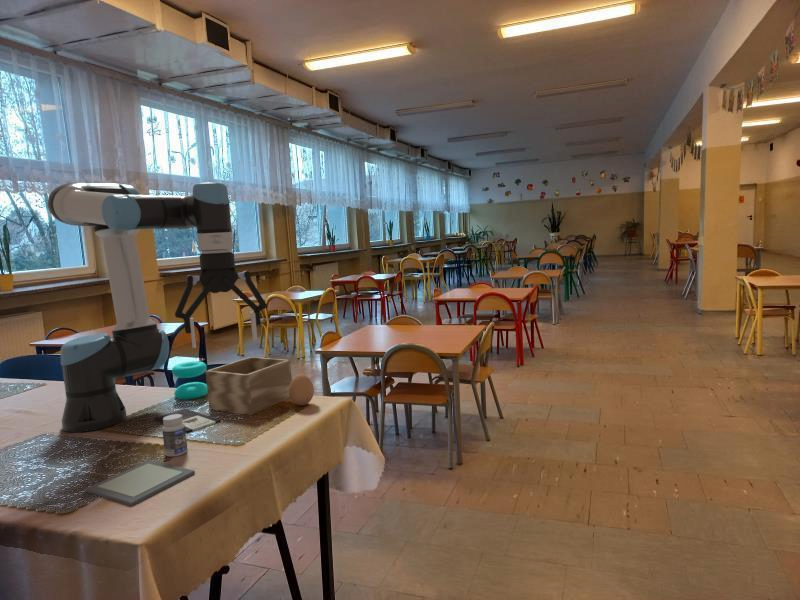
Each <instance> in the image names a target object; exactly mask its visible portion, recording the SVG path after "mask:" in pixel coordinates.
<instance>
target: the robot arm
mask: <svg viewBox="0 0 800 600" xmlns="http://www.w3.org/2000/svg"><path fill="white" fill-rule="evenodd" d="M230 203H231V201H230V198H229V192H228V187H227V185H225V184H224V183H222V182H200V183H199V182H198V183H194V185H193V186H192V194H191V195H157V194H155V195H148V194H147V195H145V194H141V193H140V191H139V190H138V189H137V188H135V186H132V185H130V184H123V183H122V184H121V183H111V182H110V183H102V182H101V183H100V182H99V183H96V182H69V183H64V184H61V185H59V186H57V187H55V188H54V189H53V190H52V191H51V192H50V193H49V195H48V198H47V208H48V211H49V212H50V213H49V214H51V216H52V217H53V218H55V220H57V221H58V222H61V223H63V224H65V225H70V226H75V227H76V226H77V227H93V230H94V234H95V235H96V236H97V237H98V238H100V239H101V240H102V246H103V252H104V258H105V262H106V269H107V274H108V275H107V276H108V280H109V286H110V291H111V297H112V304H113V309H114V315H115V320H116V323H115V325H114V327H113V328H112V329H111V333H112V336H110V334H108V333H107V332H100V333H99V332H98V333H93V334H88V335H83V336H80V337H77V338H74V339H71V340H68V341H66V342H65V343H64V344H63V345H62V346H61V348H60V351H59V352H60V364H61V370H62V376H63V382H64V384H63V385H64V390H65V399H66V400H65V406H64V408H63V414H62V418H61V428H62V430H63V431H64V432H68V433H83V432H92V431H98V430H102V429H105V428H108V427H111V426H114V425H117V424H119V423H121V422H123V421H124V420H126V418H127V409H126V407H125V405H124V403H123V401H122V399H121V397H120V395H119V394H118V392H117V386H116V380H117V379H121V378H126V377H130V376H134V375H138V374H143V373H150V372H151V371H154V370H158V369H159V368H161V367H163V366H164V365H165V363H166V362H167V360H168V357H169V354H170V341H169V338H168V336H167V333H166V332H165V330H164V329H162V328H159V327H158V324H157V322H156V321H154V319H151V316H150V311H149V305H148V300H147V293H146V288H145V283H144V282H145V281H144V277H143V272H142V265H141V260H140V259H141V258H140V253H139V247H138V241H137V235H138V233H139V232H140V231H141V230H160V229H161V230H162V229H163V230H164V229H166V230H167V229H170V230H171V229H178V230H189V229H192V228H195V229H196V233H197V234H196V236H197V237H196V238H197V245H198V251H199V252H201V253H200V255H199V256H198V257H199V264H200V265H199V266H200V275H191V274H188V275H187V276H186V286H185V288H184V291H183V293H182V296H181V297H180V299H179V300H180V301H179V303H178V304H177V307H176V310H175V312H174V317H175V318H178V319H182V320H183V321H184V331H185V333H186V334H190V337H191V343H192V344H191V346H192V349H196V348H197V342H196V341H197V340H196V332H195V323H194V322H195V321H194V317H192V316H193V314H194V312H196V310H197V309H198V308H199V306H200V305H201V303H202V302H203V301H204V299H205V298H206V297H207V296H208V294H209V293H212V294H218V293H228V292H230V291H233V292H234V294H236V295H237V296H238V297H239V298H240V299H241V300H242V301H243V302H244V303H245V304H247V306H249V308H251V309H252V311H250V312H249V315H250V325H251V335H252V336H251V337H252V340H253V341H258V330H257V326H260V325H261V311H262V310H265V309H267V308H268V304H267V302H265V299H264V297H263V296H262V294H261V293H260V291H259V290H258V288H257V287H256V285H255V284H254V282H253V281H252V277H251V273H250V271H249V270H243V271H241V272H237V271H236V263H235V262H236V261H235V254H234V252H232V250H234V243H233V241H234V240H233V234H232V231H233V230H232V219H231V217H232V216H231V205H230ZM239 278H240V280H241V281H244V282H245V284H246V285H247V287H248V289H249V290H250V291H251V293H252V295H253V297H254V298H255V300H256V301H257V303H258V305H257V304H256V303H255V302H253V301H252V299H250V298H249V297H248V296H247V295H246V294H245V293H244V292H243V291H242V290H241V289H240V288H238V286H237V285H236V283H237V281H238V279H239ZM199 281H200V283H201V284H202V285H203V288H202V289H201V291H200V292H199V294H198V295H197V296H196V298H195V299H194V300H193V302H192V303H191V304H190V306H189V307H188V308H187V310H186V311H185V312H184V309H185V306H186V304H187V301H188V299H189V297H190V294H191V293H192V289H193V286H195V285H197V283H198V282H199Z"/></svg>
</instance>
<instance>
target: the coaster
mask: <svg viewBox="0 0 800 600" xmlns="http://www.w3.org/2000/svg"><path fill="white" fill-rule="evenodd" d="M195 474H196V472H195V470H194V469H190V468H187V467H181V466H176V465H173V464H172V465H171V464H169V463H164V462H160V461H155V460H150V459H148V460H146V461H144V462H142V463H139V464H137V465H136V466H133V467H131V468H129V469H127V470H124V471H122V472H120V473H118V474H115V475H113V476H111V477H109V478H106V479H104V480H101V481H100V482H97V483H95V484H93V485H90V486H88V487H86V488H84V491H85V492H86V493H89V494H92V495H96V496H99V497H102V498H105V499H109V500H111V501H113V502H114V501H115V502H117V503H121V504H125V505H126V506H127V505H128V506H135V505H136V504H138V503H140V502H143V501H144V500H146V499H148V498H150V497H151V496H154V495H156V494H158V493H159V492H161V491H163V490H166V489H168V488H169V487H172V486H174V485H175V484H177V483H179V482H182V481H183V480H185V479H187V478H189V477H191V476H193V475H195Z"/></svg>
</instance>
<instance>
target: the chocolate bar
mask: <svg viewBox="0 0 800 600" xmlns="http://www.w3.org/2000/svg"><path fill="white" fill-rule="evenodd" d="M173 414H181V415H182V418H183V423H184V424H185V430H186V434H189V433H192V432H194V431H197V430H200V429H204V428H206V427H210V426H213V425H216V424H219V423H221V419H218V418H216V417H213V416H209V415H208V414H207V415H206V414H203V413H200V412H198V411H194V410H192V409H188V408H184V409H183V408H182V409H179V410H176V411H173V412H169V413H167V414H162V415H160V416H157V417H154V418H153V420H155V421H157V422H159V423H161V424H163V418H164V417H166V416H169V415H173ZM218 422H219V423H218Z"/></svg>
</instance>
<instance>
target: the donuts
mask: <svg viewBox="0 0 800 600" xmlns="http://www.w3.org/2000/svg"><path fill="white" fill-rule="evenodd" d="M207 369H208V368H207V364H206V363H205V362H203V361H197V360H196V361H195V360H194V361H185V362H181V363H177V364H176V365H174V366H173V367H172V369H171V373H172V375H173V376H174V377H175V378H180V379H188V378H189V379H190V378H195V377H199V376H200V375H202V374H204V373H205V371H207ZM206 395H208V392H207V383H204V382H199V381H193V382H187V383H183V384H181V385H179V386H178V387H176V389H175V390H174V398H176V399H178V400H183V401H187V400H194V399H199V398H202V397H204V396H206Z"/></svg>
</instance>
